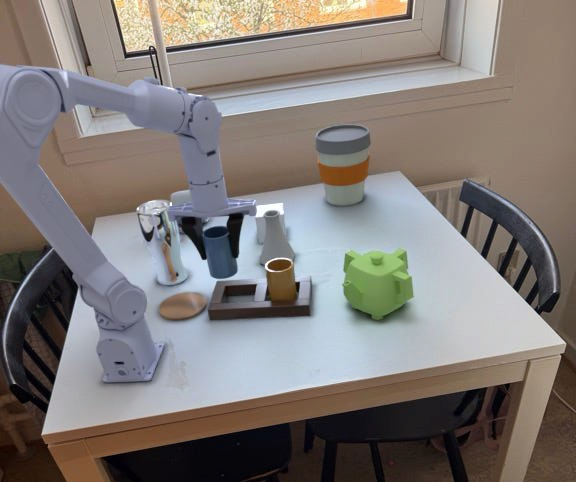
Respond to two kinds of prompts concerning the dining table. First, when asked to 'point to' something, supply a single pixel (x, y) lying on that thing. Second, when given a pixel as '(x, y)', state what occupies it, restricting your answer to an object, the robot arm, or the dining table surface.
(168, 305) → the coaster
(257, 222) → the white cube
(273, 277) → the ochre cup
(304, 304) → the cup holder
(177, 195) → the ceramic mug
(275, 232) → the flask
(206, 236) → the blue cup
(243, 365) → the dining table surface
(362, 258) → the teapot
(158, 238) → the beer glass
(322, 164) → the reusable coffee cup
